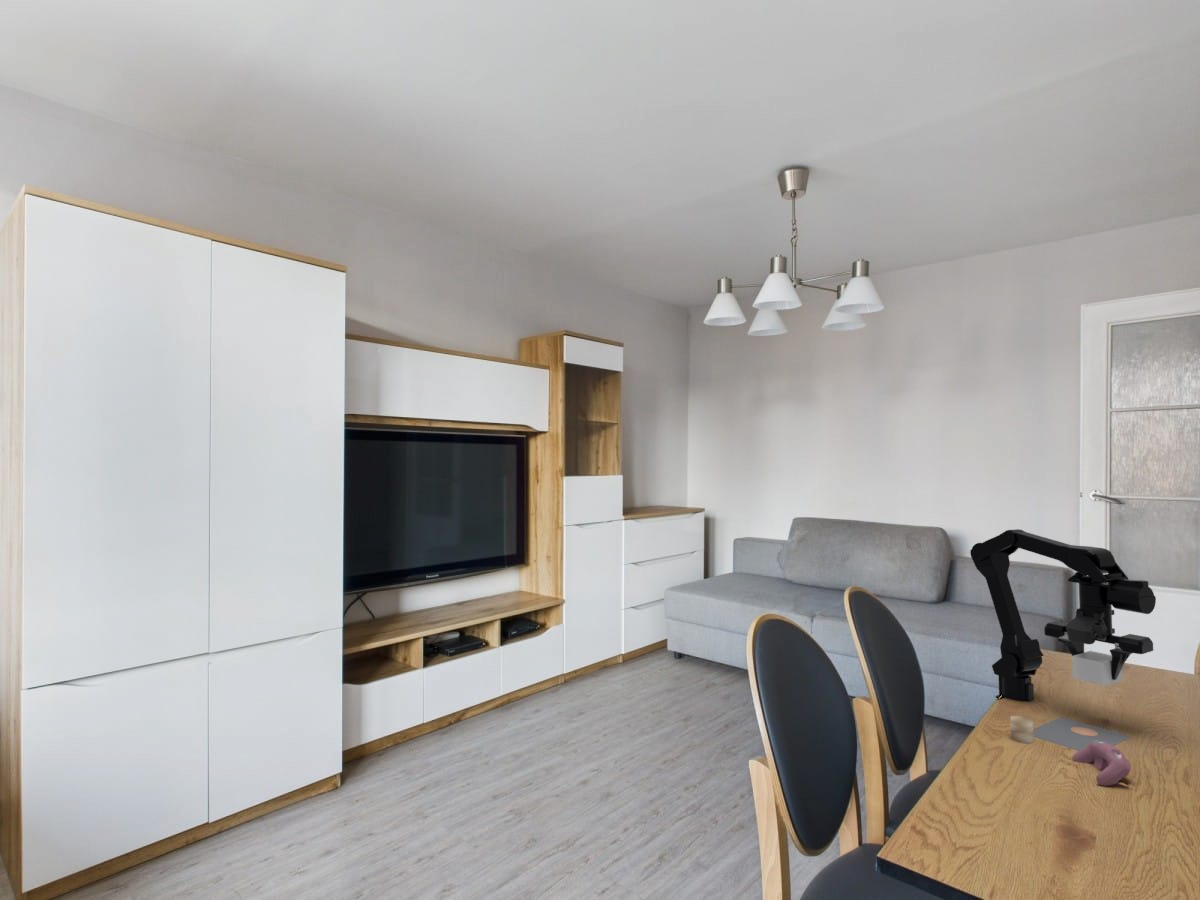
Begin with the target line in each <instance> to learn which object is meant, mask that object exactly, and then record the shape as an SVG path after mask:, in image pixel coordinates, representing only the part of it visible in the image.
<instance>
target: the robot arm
mask: <svg viewBox="0 0 1200 900" xmlns="http://www.w3.org/2000/svg"><path fill="white" fill-rule="evenodd" d="M1019 549H1021V550H1023V551H1027V552H1031V553H1033V554H1037V555H1040V556H1043V557H1047V558H1050V559H1053V560H1056V561H1059V562H1061V563H1062V564H1064V565H1065V566H1066V567H1068V568H1069V569H1071V570H1073V571H1075V572H1074V574H1073V575H1072V576H1071V577H1069V578H1067V581H1068V582H1069V583H1070V582H1071V583H1077V584H1078V604H1079V608H1076V612H1075V617H1074V618H1073V619H1071V620H1070V621H1069V622H1066V621H1060V620H1056V621H1051V622H1047V623H1046V624H1045V626H1044V636H1048V637H1052V638H1057V641H1058V642H1060V643H1062V644H1063V645H1064V646H1065V647H1067V649H1068V651H1069V652H1070V654H1071V656H1074V655H1077V654H1081V653H1084V652H1085V645H1093V644H1094V643H1095V642H1096V641H1097V642H1100V643H1107V644H1112V645H1114V648H1112V649H1109V653H1110V655H1112V670H1111V674H1112V679H1113V680H1116V679H1117V677H1118V675H1119V673H1120V671H1121V669H1122V670H1123V667H1124V665H1125V663H1126V662H1127V660H1128V659H1129V657H1130V656H1131V654H1136V655H1144V654H1149V653H1151V652H1153V651H1154V643H1153V642H1154V641H1152V639H1151V638H1150V636H1149V637H1148V636H1142V635H1137V634H1131V633H1128V634H1126V635H1122V636H1119V635H1114V634H1116V629H1115V628H1113V616H1114V615H1115V610H1114V609H1117V610H1121V611H1126V612H1127V611H1128V612H1133V613H1140V614H1143V615H1144V614H1145V615H1149V614H1151V613H1152V612H1153V611H1154V609H1155V607H1156V601H1157V599H1156V598H1157V596H1155V594H1154V591H1153V589H1152V588H1151V587H1149V581H1147V580H1141V579H1140V580H1139V579H1137V580H1135V579H1129V577H1128V575H1126V573H1125V572H1124V571H1123V569H1121V567H1120V565H1118V563H1117V562H1116V560H1115V557H1114V555H1113V554H1112V552H1111V551H1110V550H1109V549H1107V548H1103V547H1096V546H1095V547H1094V546H1086V545H1074V544H1069V543H1065V542H1061V541H1058V540H1055V539H1051V538H1048V537H1045V536H1041V535H1037V534H1034V533H1031V532H1027V531H1025V530H1023V529H1018V528H1017V529H1007V530H1005V531H1004V532H1002V533H1000V534H998V535H996V536H994V537H992V538H989V539H987V540H985V541H983V542H976V543H975V544H974V545H973V546H972V547H971V549H970V550H969V551H970V558H971V560H972V562H973V564H974V565H975V566H974V567H975V568H976V570H977V571H978V572H979V573H980V574H981V575H982V576H983V577H984V578H985V581H986V584H987V588H988V591H989V593H990V596H991V600H992V601H991V602H992V603H993V607H994V610H995V614H996V618H997V621H998V624H999V627H1000V629H1001V633H1002V638H1001V641H1000V647H999V648H1000V654H1001V655H1000V656H1001V657H1000V658H999V659H998V660H996V662H994V663H993V664H991V668H992V671H993V674H994V675H996V676H998V694H997V695H995V698H996V699H998V698H999V697H1000V696H1001V695H1002V697H1001V698H1000V699H999V700H1003V699H1009V700H1013V701H1019V702H1027V703H1030V702H1032V701H1033V702H1034V701H1035V690H1034V689H1035V688H1034V686H1035V685H1034V683H1032V676H1035V675H1036V674H1037V671H1038V669H1039V668H1040V667H1041V665H1042V664H1043V656H1044V653H1043V652H1042V650H1041V647H1040V642H1039V640H1038V639H1037V638H1034V639H1032V638H1031V637H1030V636H1029V635H1028V634H1027V632H1026V631H1025V628H1024V624H1023V621H1022V618H1021V615H1020V612H1019V609H1018V606H1017V605H1018V604H1017V602H1016V600H1015V599H1016V598H1015V596H1014V591H1013V589H1012V586H1011V584H1010V583H1011V582H1010V580H1009V579H1010V578H1009V576H1008V573H1009V569H1010V564H1011V563H1010V562H1011V561H1010V557H1009V556H1011V555H1013V554H1014V553H1016V552H1017V551H1018V550H1019ZM1112 607H1113V608H1114V609H1112Z"/></svg>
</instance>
